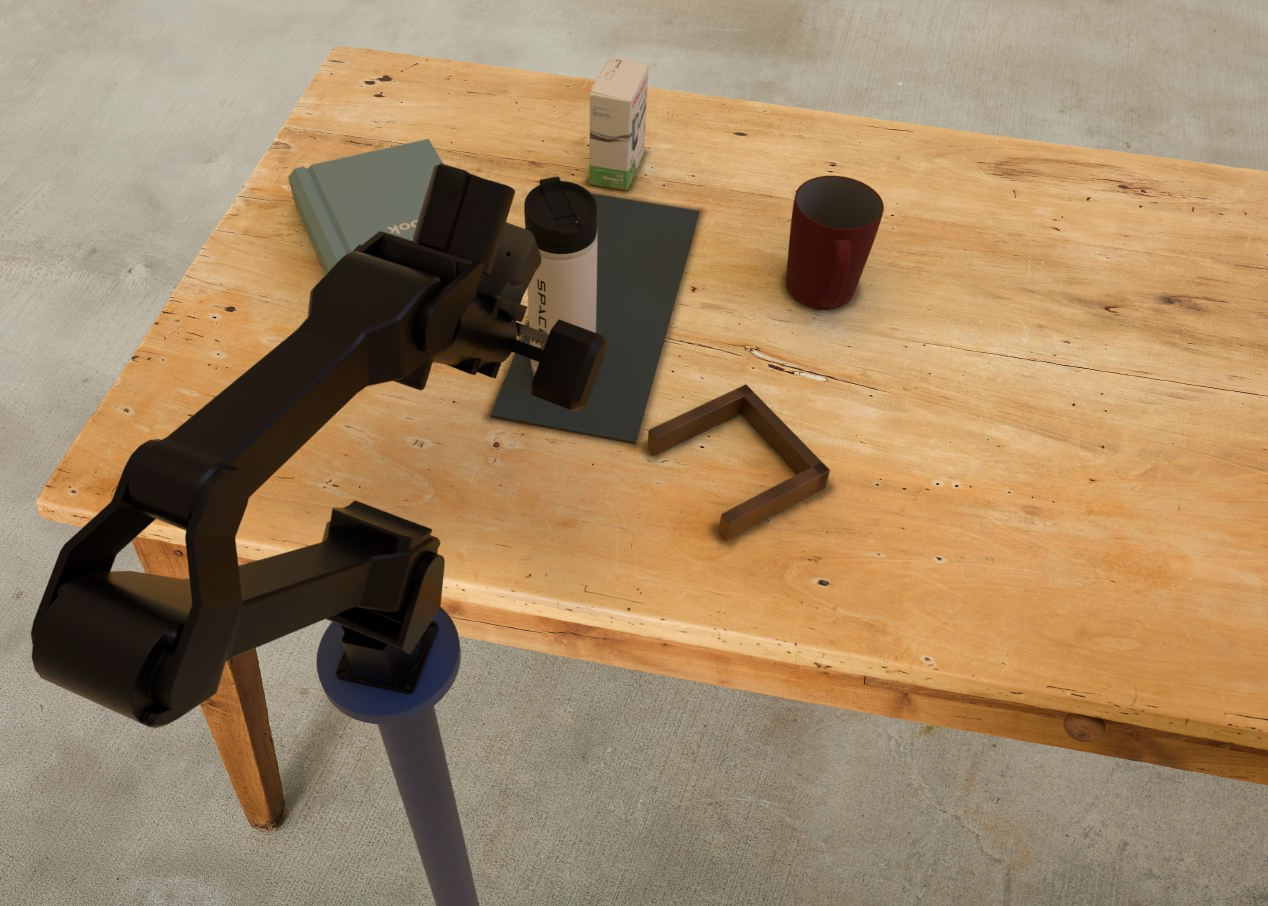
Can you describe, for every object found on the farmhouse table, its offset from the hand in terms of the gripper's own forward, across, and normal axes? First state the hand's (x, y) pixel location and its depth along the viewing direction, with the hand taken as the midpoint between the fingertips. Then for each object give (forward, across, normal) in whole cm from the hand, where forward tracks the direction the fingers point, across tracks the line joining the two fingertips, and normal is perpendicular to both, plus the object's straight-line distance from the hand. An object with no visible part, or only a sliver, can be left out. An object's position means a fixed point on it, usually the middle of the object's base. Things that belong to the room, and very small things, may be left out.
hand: (521, 343), depth 91 cm
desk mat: (+20, 0, -6) cm, 21 cm away
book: (+20, +24, -4) cm, 31 cm away
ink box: (+36, +9, -22) cm, 44 cm away
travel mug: (+13, 0, +1) cm, 13 cm away
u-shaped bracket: (+10, -20, +4) cm, 22 cm away
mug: (+28, -20, -15) cm, 37 cm away
